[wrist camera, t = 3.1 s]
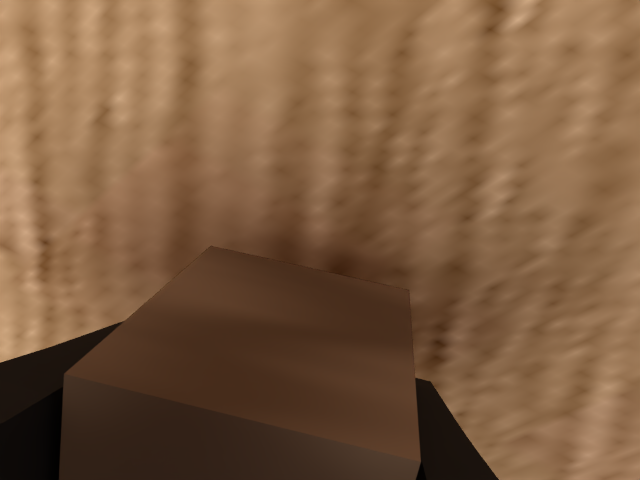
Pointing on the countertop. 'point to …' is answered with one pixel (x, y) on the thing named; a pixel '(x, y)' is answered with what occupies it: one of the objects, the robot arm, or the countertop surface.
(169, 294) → the walnut block
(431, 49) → the countertop surface
